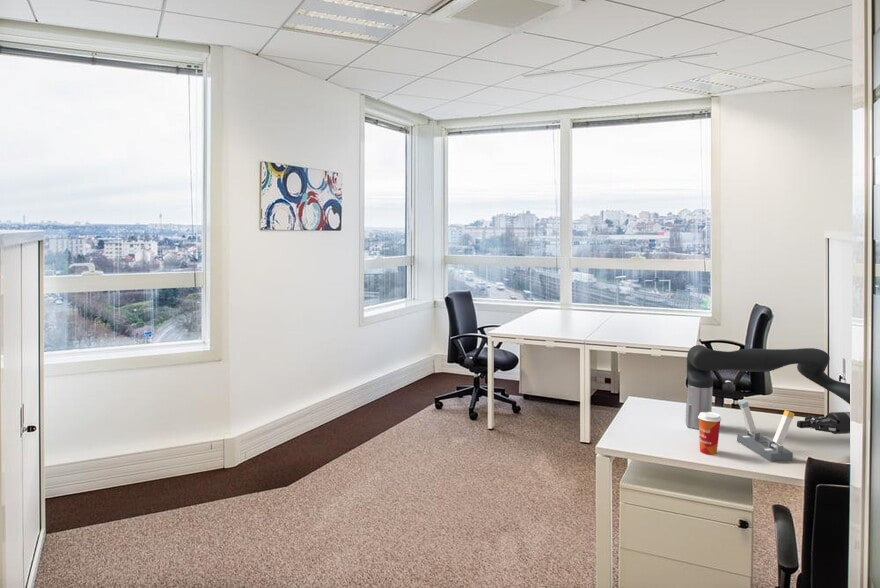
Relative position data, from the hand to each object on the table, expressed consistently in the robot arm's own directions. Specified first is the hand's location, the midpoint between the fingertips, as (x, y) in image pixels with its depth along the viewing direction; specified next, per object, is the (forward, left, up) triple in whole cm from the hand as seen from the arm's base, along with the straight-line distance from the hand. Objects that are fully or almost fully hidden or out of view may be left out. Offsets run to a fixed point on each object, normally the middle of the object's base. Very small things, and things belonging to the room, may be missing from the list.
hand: (798, 424), depth 206 cm
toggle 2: (-7, -3, -8) cm, 11 cm away
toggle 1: (-12, +10, -8) cm, 17 cm away
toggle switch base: (-10, +4, -12) cm, 16 cm away
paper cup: (-29, -2, -12) cm, 32 cm away
